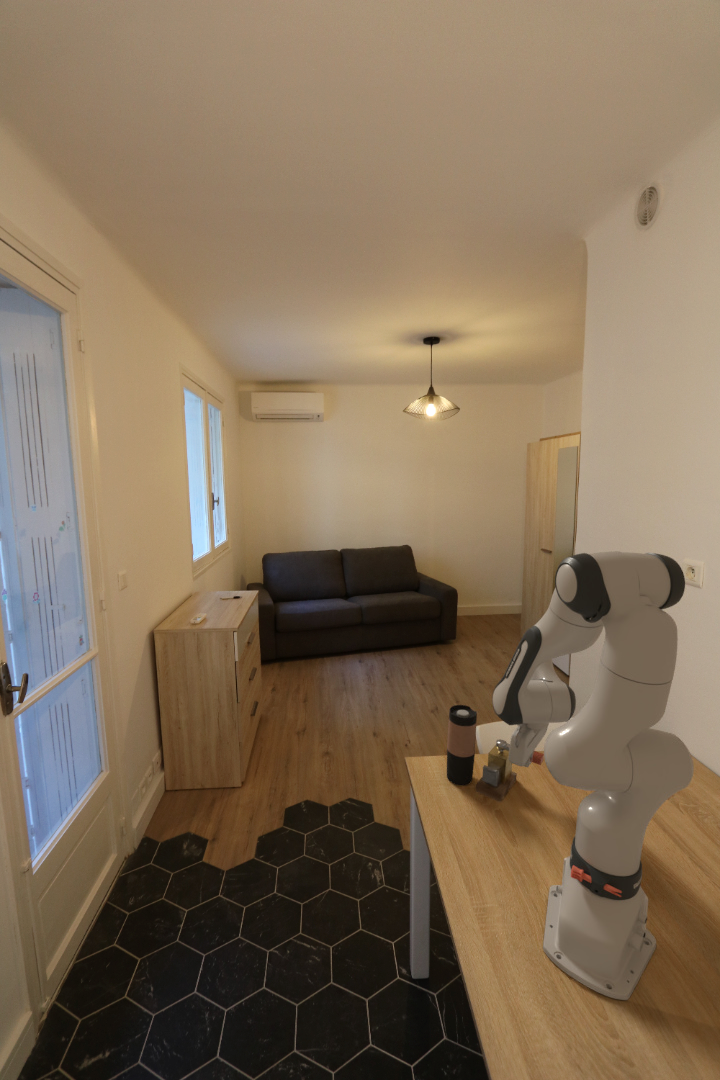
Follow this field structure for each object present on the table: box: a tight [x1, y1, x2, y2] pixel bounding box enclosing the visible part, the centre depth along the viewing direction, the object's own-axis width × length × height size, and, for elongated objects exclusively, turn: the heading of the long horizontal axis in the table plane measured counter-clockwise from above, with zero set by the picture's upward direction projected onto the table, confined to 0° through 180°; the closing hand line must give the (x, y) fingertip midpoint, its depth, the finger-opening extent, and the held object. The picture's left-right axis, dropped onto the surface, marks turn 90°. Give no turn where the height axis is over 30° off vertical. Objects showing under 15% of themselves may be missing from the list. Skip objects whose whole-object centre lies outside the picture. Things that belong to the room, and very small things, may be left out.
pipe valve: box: [481, 744, 513, 788], centre depth 131 cm, size 11×5×8 cm, turn 143°
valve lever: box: [495, 739, 545, 766], centre depth 129 cm, size 12×3×2 cm, turn 53°
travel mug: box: [446, 704, 478, 787], centre depth 134 cm, size 8×8×20 cm
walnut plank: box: [474, 771, 518, 803], centre depth 132 cm, size 12×7×2 cm, turn 143°
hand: (526, 764), depth 124 cm, fingers closed
